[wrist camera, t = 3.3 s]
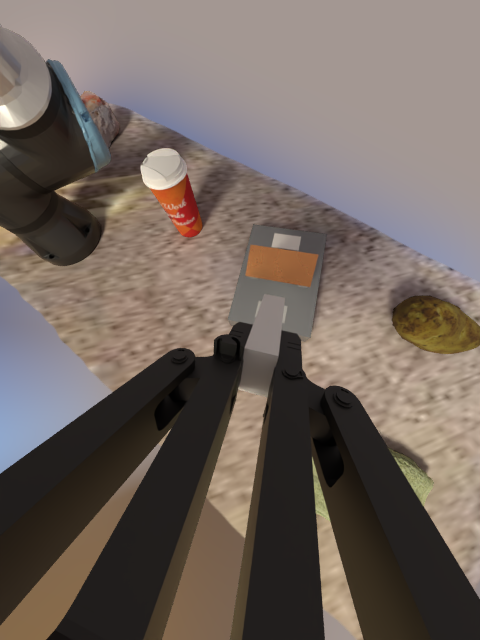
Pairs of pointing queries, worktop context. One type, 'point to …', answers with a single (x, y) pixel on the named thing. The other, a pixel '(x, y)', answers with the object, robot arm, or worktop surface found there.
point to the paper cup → (172, 189)
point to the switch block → (296, 296)
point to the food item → (101, 116)
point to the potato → (435, 325)
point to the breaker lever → (281, 265)
